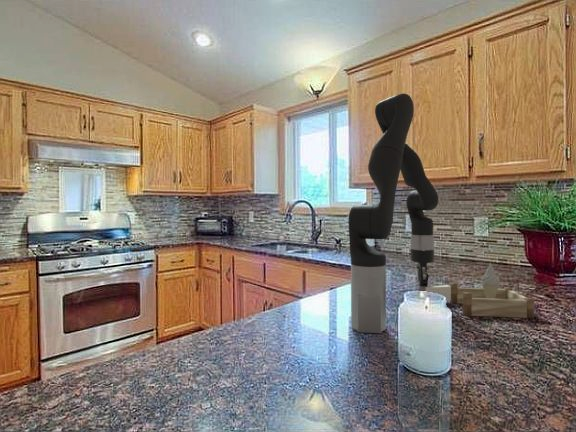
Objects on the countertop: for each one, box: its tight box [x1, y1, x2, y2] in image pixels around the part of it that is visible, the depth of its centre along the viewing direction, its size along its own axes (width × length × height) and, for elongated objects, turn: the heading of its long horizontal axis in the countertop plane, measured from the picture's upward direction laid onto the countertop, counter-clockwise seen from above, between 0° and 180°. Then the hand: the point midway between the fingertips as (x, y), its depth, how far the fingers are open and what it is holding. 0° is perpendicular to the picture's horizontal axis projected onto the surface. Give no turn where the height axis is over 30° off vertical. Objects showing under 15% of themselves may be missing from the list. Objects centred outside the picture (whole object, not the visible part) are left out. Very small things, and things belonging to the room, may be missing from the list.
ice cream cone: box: [481, 262, 500, 299], centre depth 113 cm, size 5×5×15 cm
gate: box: [418, 284, 451, 302], centre depth 119 cm, size 11×2×5 cm, turn 104°
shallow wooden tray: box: [449, 282, 535, 319], centre depth 113 cm, size 16×19×6 cm
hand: (422, 297), depth 123 cm, fingers closed
